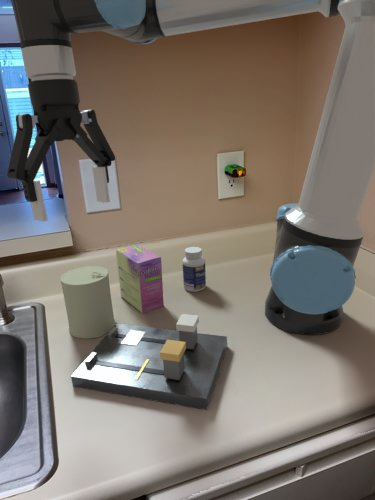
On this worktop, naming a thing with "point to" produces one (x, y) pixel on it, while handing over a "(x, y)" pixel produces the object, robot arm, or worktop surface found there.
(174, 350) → the fader
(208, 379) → the console
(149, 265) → the box
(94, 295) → the can
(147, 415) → the worktop surface
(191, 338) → the fader
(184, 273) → the pill bottle
